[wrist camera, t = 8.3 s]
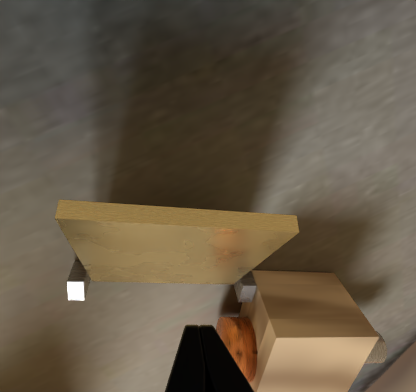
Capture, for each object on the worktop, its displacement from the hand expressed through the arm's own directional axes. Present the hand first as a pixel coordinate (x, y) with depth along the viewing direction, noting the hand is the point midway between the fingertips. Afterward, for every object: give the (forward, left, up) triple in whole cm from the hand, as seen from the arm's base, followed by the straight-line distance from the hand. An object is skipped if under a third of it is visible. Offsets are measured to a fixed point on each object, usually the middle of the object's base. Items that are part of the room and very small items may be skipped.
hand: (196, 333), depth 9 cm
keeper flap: (-3, 0, -8) cm, 9 cm away
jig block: (-12, -10, -12) cm, 19 cm away
